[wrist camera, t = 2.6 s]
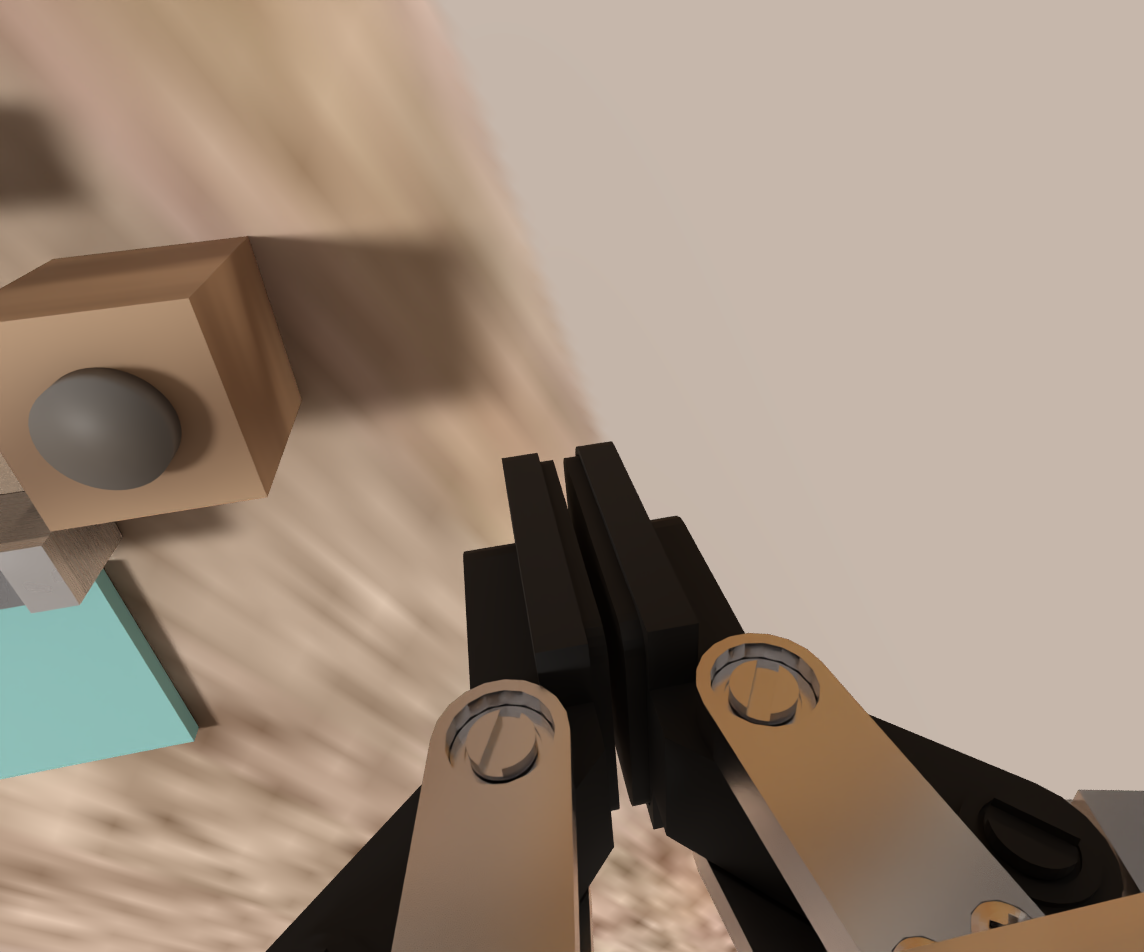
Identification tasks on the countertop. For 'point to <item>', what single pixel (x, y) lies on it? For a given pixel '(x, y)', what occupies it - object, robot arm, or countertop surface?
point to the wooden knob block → (143, 383)
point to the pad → (82, 687)
